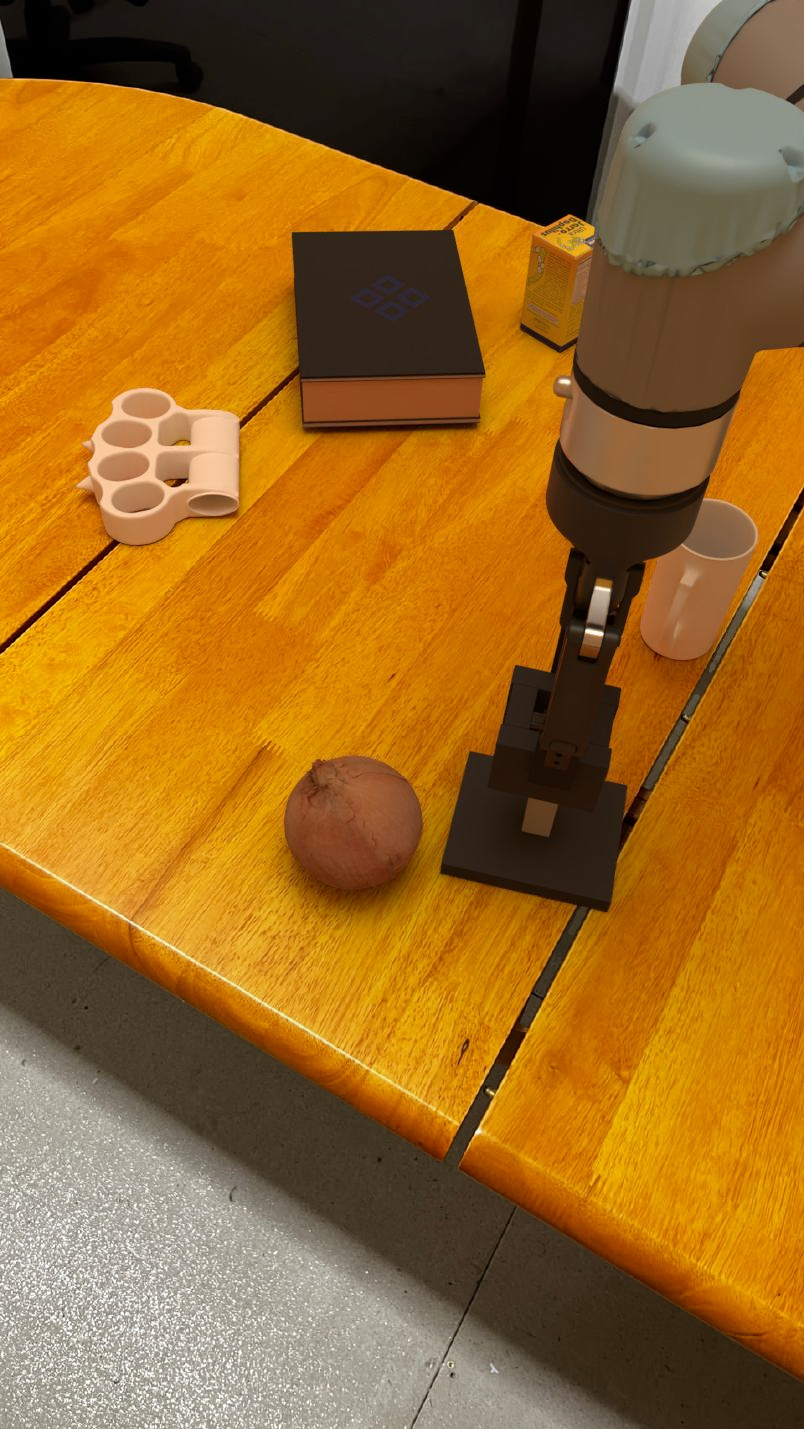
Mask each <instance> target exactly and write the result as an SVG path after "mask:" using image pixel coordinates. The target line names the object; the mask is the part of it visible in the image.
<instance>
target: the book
mask: <svg viewBox="0 0 804 1429" xmlns="http://www.w3.org/2000/svg"><path fill="white" fill-rule="evenodd" d="M291 248H292V264H293V265H292V266H293V295H294V312H295V326H296V327H295V328H296V343H297V344H296V345H297V358H298V359H297V360H298V377H299V393H300V409H301V426H302V429H308V428H309V429H310V428H312V429H313V428H347V427H378V426H379V427H381V426H414V425H415V426H417V425H449V424H450V425H451V424H454V425H455V424H480V423H481V413H480V409H481V408H480V407H481V400H482V399H481V398H482V389H483V382H484V379H486V375H487V374H486V367H485V364H484V358H483V355H482V351H481V346H480V341H479V337H478V333H477V328H476V323H475V319H474V314H473V311H472V305H471V302H470V298H469V293H468V287H467V284H466V279H465V275H464V270H463V266H462V262H461V257H460V252H459V249H458V244H457V240H456V235H455V230H454V229H422V230H421V229H415V230H413V229H412V230H410V229H409V230H341V231H338V230H337V231H334V230H333V231H332V230H331V231H292V232H291Z"/></svg>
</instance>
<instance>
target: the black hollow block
mask: <svg viewBox="0 0 804 1429" xmlns="http://www.w3.org/2000/svg"><path fill="white" fill-rule="evenodd" d="M555 676H556V674H555V673H551V671H547V670H543V669H542V670H541V669H537V668H532V667H529V666H523V665H519V664H515V665H514V667H513V671H512V675H511V680H510V684H509V689H508V695H507V699H506V704H505V709H504V713H503V718H502V722H501V723H500V726H499V729H498V734H497V738H496V742H495V747H494V751H493V755H492V756H493V761H492V766H491V771H490V776H489V781H488V785H487V788H489V789H493V790H498V791H502V792H506V793H511V794H515V795H519V796H524V797H528V798H532V799H536V800H541V801H545V802H549V803H554V804H558V805H562V806H567V807H571V808H575V809H579V810H584V811H588V812H592V813H593V812H594V810H595V807H596V804H597V802H598V799H599V796H600V793H601V790H602V787H603V785H604V782H605V781H606V778H607V776H608V773H609V770H610V766H611V761H612V760H611V759H612V754H613V748H611V747H610V744H611V740H612V739H611V738H612V732H613V726H614V722H615V719H616V716H617V713H618V710H619V708H620V702H621V696H622V687H619V686H615V685H610V684H606V683H605V685H604V689H603V692H602V696H601V699H600V703H599V706H598V709H597V713H596V716H595V720H594V723H593V727H592V730H591V733H590V737H589V740H588V744H589V747H588V752H587V753H586V754H585V757H583V758H580V761H579V764H578V767H577V771H576V774H575V777H574V781H573V784H572V787H571V790H570V791H565V790H561V789H556V788H552V787H548V786H543V785H539V784H534V783H530V782H527V781H528V776H529V772H530V768H531V763H532V759H533V755H534V751H535V747H536V743H537V739H538V735H539V729H535V728H530V726H531V721H532V717H533V712H537V713H541V714H544V710H548V706H549V702H550V698H551V693H552V689H553V685H554V680H555Z"/></svg>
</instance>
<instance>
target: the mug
mask: <svg viewBox="0 0 804 1429" xmlns="http://www.w3.org/2000/svg"><path fill="white" fill-rule="evenodd" d="M758 542H759V530H758V527H757V525H756V523H755V521H754V519H752V517H751V516H750V515H749V514H747V512H746V511H745V510H743V509H742V508H740V507H738V506H737V505H734V504H733V503H731V502H728V501H726V500H722V499H716V498H708V497H707V498H705V497H704V498H703V501H702V504H701V507H700V510H699V513H698V516H697V518H696V521H695V524H694V527H693V529H692V531H691V533H690V535H689V536H688V538H687V539H686V540H685V541H684V542H683V543H682V544H681V545H680V546H679V547H677V548H676V549H674V550H673V551H671V552H669V553H667V554H665V555H663V556H660V557H657V560H656V564H655V568H654V571H653V575H652V578H651V581H650V585H649V587H648V588H649V589H648V592H647V595H646V599H645V602H644V606H643V611H642V615H641V619H640V622H639V623H640V624H639V632H640V635H641V638H642V639H643V641H644V643H646V645H647V646H648V647H649V648H650V649H651V650H652V651H654V652H655V653H656V654H658V655H660V656H662V657H665V658H668V659H672V660H677V661H691V660H694V659H698V658H700V657H703V655H705V654H706V653H708V651H709V650H710V649H711V648H712V646H713V644H714V642H715V640H716V638H717V635H718V633H719V632H720V630H721V627H722V625H723V623H724V620H725V618H726V616H727V613H728V611H729V608H730V606H731V604H732V602H733V599H734V597H735V595H736V593H737V591H738V588H739V586H740V583H741V582H742V579H743V577H744V575H745V573H746V571H747V568H748V566H749V564H750V561H751V559H752V556H753V554H754V552H755V549H756V546H757V545H758Z"/></svg>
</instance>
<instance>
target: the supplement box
mask: <svg viewBox="0 0 804 1429" xmlns="http://www.w3.org/2000/svg"><path fill="white" fill-rule="evenodd" d="M594 229H595V226H593V225H591V224H589V223H587V222H586V221H584V220H583V219H580V218H579V217H577V216H574V215H572V214H567V215H566V216H563V217H561V218H559V219H558V220H556V221H554V222H552V223H550V224H549V225H547V226H545V227H543V228H541V229H539V230H537V231H535V232H533V233H532V235H531V236H532V237H531V243H530V244H531V245H530V254H529V260H528V265H527V266H528V267H527V274H526V282H525V287H524V296H523V303H522V310H521V317H520V326H519V330H521V331H522V332H524V333H526V334H528V335H529V336H531V337H533V338H535V339H536V340H537V341H539V340H540V341H539V342H541V343H543V344H544V345H546V346H548V347H550V348H552V350H553V349H554V350H555V351H557V352H559V353H561V352H563V351H564V350H566V349H568V348H569V347H571V346H572V345H574V344H575V343H576V344H577V340H578V335H579V329H580V323H581V317H582V311H583V306H584V300H585V294H586V288H587V282H588V277H589V271H590V265H591V259H592V253H593V247H594V242H595V236H594Z"/></svg>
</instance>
